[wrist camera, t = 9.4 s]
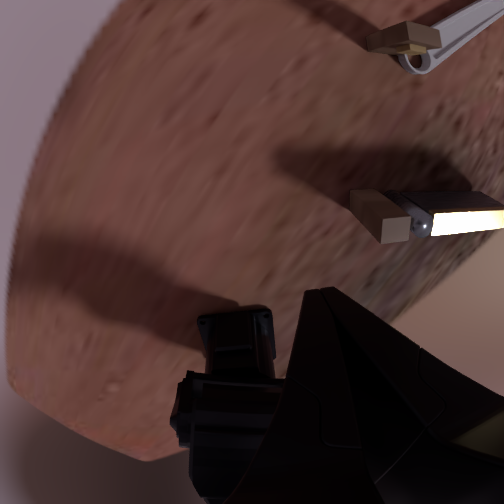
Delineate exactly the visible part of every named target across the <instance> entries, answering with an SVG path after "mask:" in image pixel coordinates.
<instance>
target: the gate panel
mask: <svg viewBox="0 0 504 504" xmlns="http://www.w3.org/2000/svg"><path fill="white" fill-rule="evenodd" d="M384 196H385V197H387V198H388V199H389V200H391V201H392V202H393V203H395V204H396V205H397V206H399V207H400V208H401V209H403V210H404V211H405V212H406V213H408V214H409V215H410V216H411V223H410V230H411V231H412V232H413V233H414V234H415V235H416V236H417V237H419V238H424V237H426V236H428V235H429V234H430V235H431V236H433V235H442V234H451V233H461V232H470V231H479V230H488V229H497V228H504V205H503V204H501V203H500V202H498V201H496V200H494V199H493V198H491V197H489V196H487V195H486V194H484V193H482V192H480V191H429V192H400V194H399V193H398V192H396V191H394V190H389V191H387V192H385V193H384Z"/></svg>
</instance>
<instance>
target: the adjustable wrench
mask: <svg viewBox="0 0 504 504" xmlns="http://www.w3.org/2000/svg"><path fill="white" fill-rule="evenodd" d="M503 14H504V0H477V1H475V2H473V3H471V4H470V5H468V6H466V7H464V8H462V9H460V10H458V11H457V12H455V13H453V14H451V15H449V16H448V17H446V18H444V19H442V20H441V21H439V22H437V23H436V24H434V25H432V26H431V27H432V28H435V29H438V30H439V31H440V37H441V43H442V48H439V49H431V50H426V54H420V56H421V59H422V65H421V67H420V68H413V67H412V65H411V64H410V62H409V61H408V57H407V54H402V55H398V59H399V62H400V64H401V65H402V67H403V68H404V69H405V70H406V71H407V72H409V73H411V74H426V73H428V72H430V71H431V70H432V69H433V68H435V67H436V66H437V65H438V64H440V63H441V62H442V61H443V60H445V59H446V58H447V57H449V56H450V55H451V54H452V53H454V52H455V51H456V50H457V49H459V48H460V47H461V46H463V45H464V44H465V43H466V42H468V41H469V40H470V39H472V38H473V37H474V36H476V35H477V34H478V33H479V32H481V31H482V30H483V29H485V28H486V27H487V26H489V25H490V24H491V23H493V22H494V21H495V20H497V19H498V18H499V17H501V16H502V15H503Z"/></svg>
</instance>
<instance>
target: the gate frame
mask: <svg viewBox="0 0 504 504" xmlns="http://www.w3.org/2000/svg"><path fill="white" fill-rule="evenodd" d="M366 41H367V48H368V52H375V53H383V54H391V55H402V54H407V55H419V54H426V50H431V49H439V48H442V43H441V37H440V31H439V30H438V29H435V28H432V27H428V26H424V25H421V24H417V23H413V22H409V21H404V22H401V23H399V24H396V25H393V26H391V27H388V28H386V29H383V30H380V31H378V32H376V33H373V34H371V35H368V36H366ZM349 211H350V212H351V213H352V214H353V215H354V216H355V217H356V218H357V219H358V220H359V221H360V222H361V223H362V224H363V225H364V226H365V227H366V229H367V230H368V231H369V232H370V233H371V234H372V235H373V236H374V237H375V238H376V240H377V241H378V242H379V243H380V244H386V243H393V242H401V241H408V239H409V231H410V223H411V216H410V215H409V214H408V213H406V212H405V211H404V210H403V209H401V208H400V207H399V206H397V205H396V204H395V203H393V202H392V201H391V200H389V199H388V198H387V197H385V196H384V195H382V194H381V193H380V192H378V191H377V190H375V189H374V188H373V189H358V190H350V210H349Z"/></svg>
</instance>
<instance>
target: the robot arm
mask: <svg viewBox="0 0 504 504" xmlns="http://www.w3.org/2000/svg"><path fill="white" fill-rule="evenodd" d="M264 314H268V315H264ZM202 321H205V322H202ZM197 324H198V327H199V331H200V334H201V337H202V340H203V343H204V346H205V349H206V352H207V353H206V365H205V373H196V372H194V371H189V370H187V374H186V378H183V381H182V382H180V383H178V387H177V394H176V400H175V404H174V407H173V410H172V413H171V417H170V425H171V427H172V428H173V429H174V430H175V431H176V435H177V438H179V447H182V448H190V454H189V456H190V457H189V477H190V479H191V481H192V482H193V485H194V487H195V489H196V491H197V492H198V494H199V496H200V497H201V498H204V500H205V502H206V503H207V504H504V397H503V396H501V395H499V394H497V393H495V392H493V391H491V390H490V389H488V388H486V387H484V386H483V385H481V384H479V383H477V382H476V381H474V380H472V379H470V378H469V377H467V376H465V375H463V374H462V373H460V372H458V371H457V370H455V369H453V368H452V367H450V366H448V365H447V364H445V363H443V362H442V361H441V360H439V359H438V358H436V357H435V356H433V355H431V354H430V353H429V352H427V351H426V350H424V349H423V348H420V346H419V345H417V344H416V343H415V342H413V341H412V340H410V339H409V338H407V337H406V336H405V335H403V334H402V333H400V332H399V331H397V330H396V329H395V328H393V327H392V326H390V325H389V324H387V323H386V322H385V321H383V320H382V319H380V318H379V317H377V316H376V315H375V314H373V313H372V312H370V311H369V310H367V309H366V308H364V307H363V306H361V305H360V304H359V303H357V302H356V301H354V300H353V299H351V298H350V297H348V296H347V295H345V294H344V293H343V292H341V291H340V290H338V289H337V288H335V287H325V288H321V289H320V290H319V289H311V290H306V291H305V292H304V296H303V301H302V305H301V310H300V315H299V320H298V325H297V329H296V334H295V338H294V343H293V347H292V351H291V356H290V360H289V364H288V368H287V373H286V378H285V379H278V378H275V370H274V363H273V360H274V359H275V358H276V350H275V338H274V327H273V316H272V311H271V310H270V309H258V310H249V311H240V312H231V313H222V314H212V315H202V316H199V317H198V319H197Z"/></svg>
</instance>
